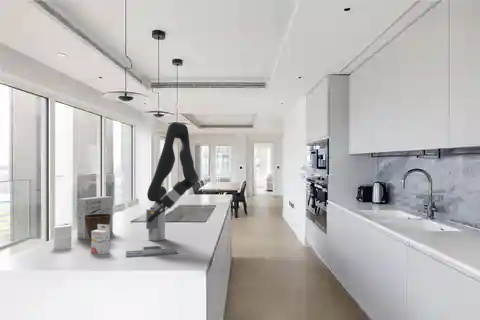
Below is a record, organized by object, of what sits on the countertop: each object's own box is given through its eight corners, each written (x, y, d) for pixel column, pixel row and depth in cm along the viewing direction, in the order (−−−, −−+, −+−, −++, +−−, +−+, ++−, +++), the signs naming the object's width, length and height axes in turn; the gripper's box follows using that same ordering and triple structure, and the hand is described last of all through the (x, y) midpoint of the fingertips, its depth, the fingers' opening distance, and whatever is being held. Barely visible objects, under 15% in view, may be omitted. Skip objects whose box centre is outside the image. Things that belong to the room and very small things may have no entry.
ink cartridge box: (90, 253, 186) (90, 225, 186) (97, 250, 191) (97, 223, 191) (103, 254, 183) (103, 226, 184) (110, 252, 188) (110, 224, 188)
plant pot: (78, 242, 210) (78, 216, 210) (99, 238, 223) (99, 213, 223) (96, 245, 203) (96, 217, 203) (116, 240, 216) (116, 214, 216)
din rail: (175, 249, 194) (175, 244, 194) (177, 253, 185) (177, 248, 185) (126, 252, 186) (126, 247, 186) (125, 257, 178) (126, 251, 178)
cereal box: (84, 239, 220) (85, 199, 220) (77, 237, 224) (77, 198, 224) (112, 233, 239) (113, 196, 239) (105, 232, 243) (105, 196, 243)
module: (157, 227, 196) (157, 209, 197) (157, 228, 192) (157, 210, 192) (146, 227, 195) (146, 209, 195) (146, 229, 190) (146, 210, 190)
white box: (68, 244, 205) (68, 224, 205) (73, 247, 198) (73, 226, 198) (51, 247, 198) (51, 226, 199) (56, 250, 192) (56, 228, 192)
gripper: (164, 192, 203) (143, 214, 199) (167, 194, 189) (143, 218, 185) (174, 201, 204) (152, 223, 200) (177, 203, 190) (154, 227, 187)
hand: (148, 220), depth 193 cm, fingers closed on module, 4 cm apart
